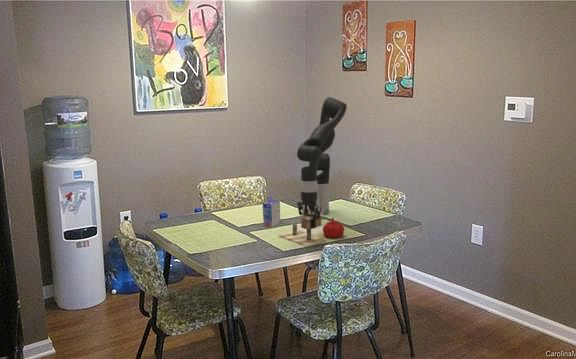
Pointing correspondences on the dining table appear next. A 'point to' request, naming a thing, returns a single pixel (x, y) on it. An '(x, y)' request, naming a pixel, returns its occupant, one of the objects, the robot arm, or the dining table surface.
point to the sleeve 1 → (306, 221)
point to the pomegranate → (333, 229)
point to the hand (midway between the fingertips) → (309, 226)
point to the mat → (313, 231)
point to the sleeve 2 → (318, 220)
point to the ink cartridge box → (271, 212)
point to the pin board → (302, 237)
